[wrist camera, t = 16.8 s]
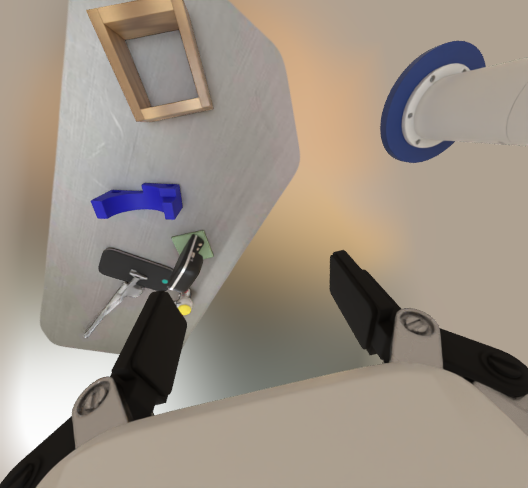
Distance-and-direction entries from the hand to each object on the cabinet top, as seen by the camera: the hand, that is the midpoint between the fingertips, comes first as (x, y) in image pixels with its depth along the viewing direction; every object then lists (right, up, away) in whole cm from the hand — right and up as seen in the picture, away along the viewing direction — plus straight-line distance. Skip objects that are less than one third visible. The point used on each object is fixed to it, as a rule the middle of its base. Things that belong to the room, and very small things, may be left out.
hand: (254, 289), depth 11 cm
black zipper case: (-15, +2, +32) cm, 35 cm away
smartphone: (-28, -3, +34) cm, 44 cm away
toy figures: (-21, -13, +41) cm, 48 cm away
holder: (-13, +28, +17) cm, 35 cm away
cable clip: (-21, +12, +25) cm, 35 cm away
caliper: (-38, -13, +38) cm, 55 cm away
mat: (-15, +2, +32) cm, 36 cm away
